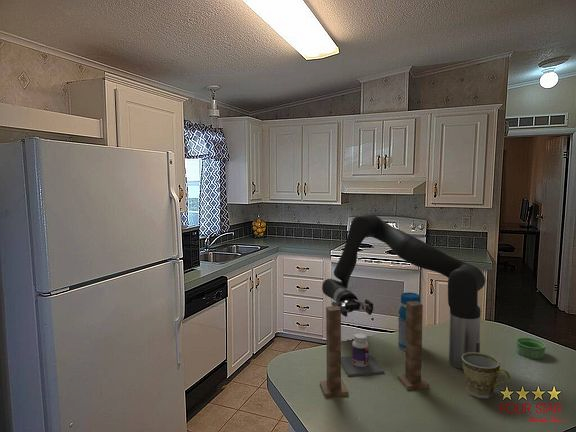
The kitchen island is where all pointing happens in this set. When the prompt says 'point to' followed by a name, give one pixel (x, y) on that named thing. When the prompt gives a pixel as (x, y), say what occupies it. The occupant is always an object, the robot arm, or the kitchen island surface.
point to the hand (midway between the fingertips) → (358, 313)
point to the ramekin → (530, 348)
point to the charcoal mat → (357, 371)
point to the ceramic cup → (481, 374)
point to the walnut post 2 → (413, 348)
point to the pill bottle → (360, 350)
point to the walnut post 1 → (333, 355)
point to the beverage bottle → (402, 317)
